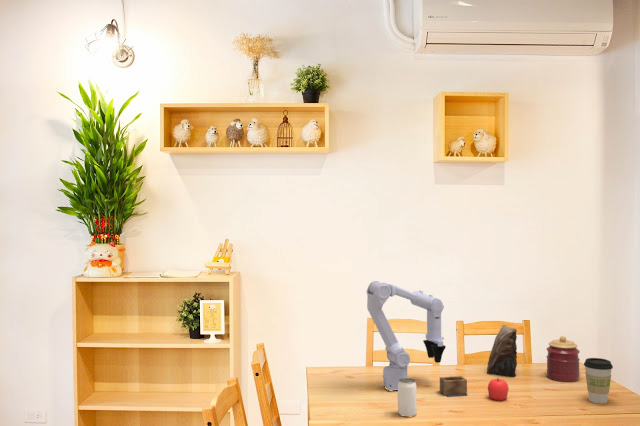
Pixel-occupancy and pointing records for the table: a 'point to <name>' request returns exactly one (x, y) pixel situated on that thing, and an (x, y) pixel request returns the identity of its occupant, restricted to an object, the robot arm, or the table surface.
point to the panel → (456, 394)
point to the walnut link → (453, 385)
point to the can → (407, 397)
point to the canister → (563, 360)
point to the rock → (503, 353)
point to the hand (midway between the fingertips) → (434, 359)
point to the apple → (498, 389)
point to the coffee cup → (598, 379)
